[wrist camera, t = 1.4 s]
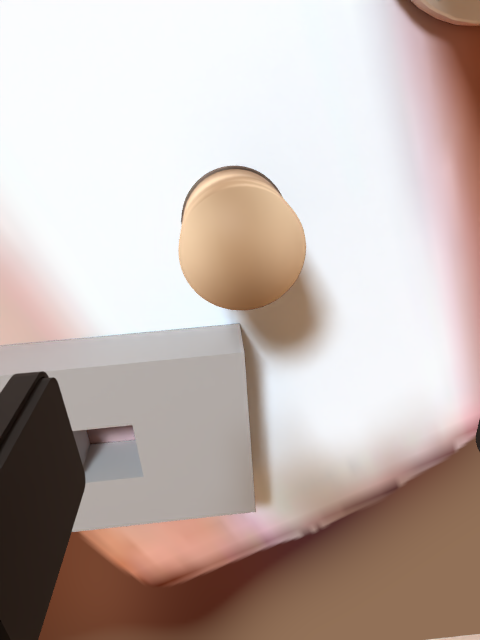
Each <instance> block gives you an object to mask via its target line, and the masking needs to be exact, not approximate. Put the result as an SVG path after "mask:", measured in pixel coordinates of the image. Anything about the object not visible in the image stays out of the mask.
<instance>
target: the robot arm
mask: <svg viewBox="0 0 480 640" xmlns="http://www.w3.org/2000/svg"><path fill="white" fill-rule="evenodd" d="M411 1H412V2H413V3H414V4H415V5H416V6H417V7H418V8H419V9H421V10H423V11H424V12H426V13H428V14H429V15H431V16H432V17H434V18H436V19H438V20H442V21H445V22H448V23H452V24H455V25H467V26H480V0H411ZM476 443H477V447H478V449H479V451H480V420H479V424H478V429H477V433H476ZM84 489H85V472H84V468H83V465H82V461H81V458H80V455H79V451H78V448H77V445H76V441H75V438H74V434H73V431H72V428H71V424H70V421H69V418H68V414H67V411H66V408H65V404H64V401H63V397H62V394H61V391H60V387H59V384H58V382H57V380H56V378H54V377H52V378H49V377H48V375H47V374H46V372H44V371H41V372H29V373H17V374H14V375H13V376H12V377H11V378H10V379H9V381H8V382H7V384H6V385H5V387H4V388H3V390H2V391H1V392H0V640H38V638H39V635H40V632H41V628H42V625H43V622H44V619H45V616H46V612H47V609H48V606H49V602H50V600H51V596H52V593H53V590H54V587H55V583H56V580H57V577H58V574H59V571H60V567H61V564H62V561H63V558H64V554H65V551H66V548H67V545H68V542H69V538H70V535H71V532H72V529H73V525H74V522H75V519H76V516H77V513H78V509H79V506H80V503H81V500H82V496H83V493H84ZM430 640H480V634H476V635H467V636H458V637H449V638H439V639H430Z"/></svg>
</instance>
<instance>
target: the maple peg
mask: <svg viewBox="0 0 480 640" xmlns="http://www.w3.org/2000/svg"><path fill="white" fill-rule="evenodd" d="M181 222H182V227H181V233H180V239H179V260H180V265H181V268H182V271H183V274H184V276H185V278H186V280H187V281H188V283H189V284H190V286H191V287H192V288H193V289H194V290H195V292H196V293H197V294H199V295H200V296H201V297H202V298H204V299H205V300H207V301H208V302H210V303H212V304H214V305H216V306H219V307H222V308H226V309H231V310H250V309H256V308H259V307H263V306H265V305H267V304H270V303H272V302H273V301H275V300H277V299H278V298H279V297H281V296H282V295H283V294H284V293H286V292H287V291H288V290H289V289H290V287H291V286H292V285H293V284H294V282H295V281H296V279H297V278H298V276H299V274H300V272H301V269H302V267H303V264H304V259H305V253H306V241H305V235H304V230H303V227H302V225H301V222H300V220H299V218H298V217H297V215H296V214H295V212H294V211H293V209H292V208H291V207H290V206H289V205H288V203H287V202H286V201H285V200H284V199H283V197H282V195H281V193H280V192H279V190H278V189H277V187H276V186H275V185H274V184H273V183H272V182H271V181H270V179H268V178H267V177H266V176H265V175H263V174H262V173H260V172H258V171H256V170H254V169H251V168H248V167H243V166H226V167H221V168H218V169H215V170H213V171H211V172H209V173H207V174H205V175H204V176H203V177H201V178H200V179H199V180H198V181H197V182H196V183H195V184H194V185H193V187H192V188H191V190H190V191H189V193H188V195H187V197H186V199H185V202H184V205H183V210H182V218H181Z"/></svg>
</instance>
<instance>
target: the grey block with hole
mask: <svg viewBox="0 0 480 640" xmlns="http://www.w3.org/2000/svg"><path fill="white" fill-rule="evenodd" d="M41 371H44V372H46V374H47V375H48V377H49V378H52V377H54V378H56V380H57V382H58V384H59V387H60V391H61V394H62V397H63V401H64V404H65V408H66V411H67V414H68V418H69V421H70V424H71V428H72V431H73V434H74V438H75V441H76V445H77V448H78V451H79V455H80V458H81V461H82V465H83V468H84V472H85V489H84V493H83V496H82V500H81V503H80V506H79V509H78V513H77V516H76V519H75V522H74V525H73V529H72V532H77V531H86V530H95V529H104V528H113V527H122V526H131V525H140V524H149V523H159V522H168V521H177V520H186V519H195V518H204V517H213V516H222V515H232V514H241V513H250V512H256V509H255V495H254V481H253V467H252V453H251V439H250V425H249V411H248V396H247V382H246V368H245V354H244V347H243V341H242V335H241V329H240V324H229V325H219V326H208V327H197V328H186V329H176V330H165V331H154V332H143V333H133V334H122V335H111V336H100V337H90V338H79V339H68V340H57V341H47V342H36V343H25V344H14V345H4V346H0V392H1V391H2V390H3V388H4V387H5V385H6V384H7V382H8V381H9V379H10V378H11V377H12V376H13V375H14V374H17V373H29V372H41ZM128 425H132V426H133V430H134V435H135V440H129V441H119V442H109V443H99V444H90V441H89V437H88V434H87V430H89V429H98V428H108V427H118V426H128Z"/></svg>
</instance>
